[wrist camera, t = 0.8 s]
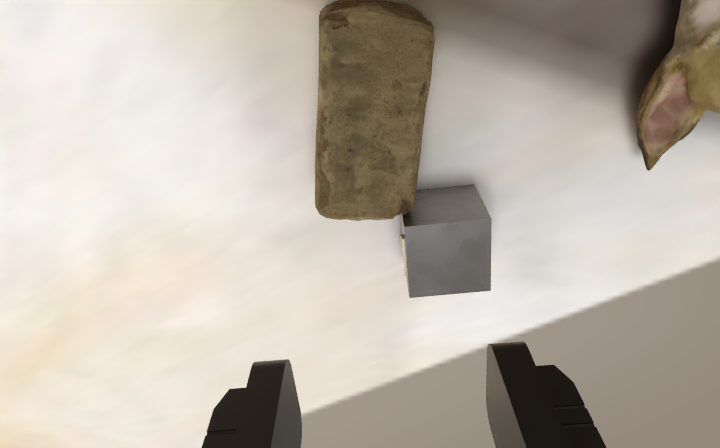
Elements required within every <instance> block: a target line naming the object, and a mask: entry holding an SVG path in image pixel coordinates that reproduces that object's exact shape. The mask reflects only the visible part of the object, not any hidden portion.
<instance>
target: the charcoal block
mask: <svg viewBox="0 0 720 448" xmlns="http://www.w3.org/2000/svg"><path fill="white" fill-rule="evenodd" d="M400 220H401V233H402V235H401V236H400V244H401V251H402V258H403V265H404V273H405V276H406V278H407V284H408V291H409V298H413V297H424V296H435V295H446V294H457V293H469V292H480V291H491V217H490V215H489V213H488V211H487V209H486V207H485V205H484V203H483V201H482V199H481V197H480V195H479V193H478V191H477V189H476V187H475V185H467V186H456V187H446V188H436V189H426V190H416V192H415V199H414V205H413V207H412V209H411V210H410V211H409V212H408V213H407V214H401V215H400Z"/></svg>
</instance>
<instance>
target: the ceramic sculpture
mask: <svg viewBox="0 0 720 448" xmlns="http://www.w3.org/2000/svg"><path fill="white" fill-rule="evenodd" d="M706 110H711V111H714V112H718V113H720V0H682V1H681V7H680V13H679V18H678V22H677V26H676V29H675V41H674V45H673V47H672V49H671V51H670V52H669V53H668V54H666V56H665V57H664V58H663V59H662V61H661V63H660V64H659V66H658V68H657V69H656V71H655V72H654V74H653V75H652V77H651V79H650V80H649V82H648V84H647V86H646V88H645V90H644V92H643V93H642V94H641V100H640V103H639V106H638V109H637V115H636V123H637V137H638V145H639V147H640V148H641V151H642V154H643V158H644V162H645V165H646V169H647V170H648V171H649V170H650V169H652V168H653V166H654V165H655V164H656V162H657V161H658V160H659V158H660V157H661V156H662V154H664V153H665V152H666V151H667V150H668V149H669V148H670V147H672V146H673V145H674V144H675V143H677V142H678V141H680V140H682V139H683V138H685V137H686V136H687V135H688V134H689V133H690V132H691V131H692V130H693V129H694V128H695V126H696V125H697V123H698V122H699V120H700V119H701V118H702V117H703V113H704V111H706Z"/></svg>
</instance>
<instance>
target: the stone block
mask: <svg viewBox="0 0 720 448" xmlns="http://www.w3.org/2000/svg"><path fill="white" fill-rule="evenodd" d="M434 41H435V40H434V27H433V25H432V24H431V22H429V21H427V20H426V18H424V17H423V16H422V15H421V14H420V13H419V12H418V11H416V10H415V9H413V8H411V7H410V6H408V5H406V4H393V3H390V2H385V1H379V0H339V1H335V2H333V3H331V4H329V5H326V6H325V7H324V8H323V10H322V11H321V12H320V15H319V88H318V113H317V131H316V161H315V204H316V208H317V210H318V212H319V214H321V215H322V216H324V217H326V218H331V219H339V220H341V219H349V220H356V221H360V220H367V219H372V220H382V219H393V218H394V217H395V216H396V215H401V214H407V213H408V212H409V211H410V210H411V209H412V207H413V205H414V199H415V192H416V185H417V176H418V168H419V160H420V150H421V141H422V131H423V124H424V115H425V106H426V102H427V97H428V91H429V86H430V79H431V70H432V58H433V49H434Z"/></svg>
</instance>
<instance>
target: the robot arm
mask: <svg viewBox="0 0 720 448" xmlns="http://www.w3.org/2000/svg"><path fill="white" fill-rule="evenodd" d="M486 378H487V379H486V380H487V381H486V402H487V403H486V404H487V412H488V419H489V424H490V428H491V432H492V434H493V439H494V442H495V446H496V448H606V446H605V444H604V442H603V440H602V438H601V436H600V434H599V432H598V430H597V428H596V427H594V424H593V420H592V418H591V416H590V414H589V412H588V410H587V409H586V408H585V406H584V402H583V400H582V398H581V396H580V394H579V392H578V390H577V388H576V386H575V384H574V383H573V382H572V381H571V380H570V379H569V378H568V377H567V376H566V375H565V374H563V373H562V372H561V371H560V370H559V369H558V368H557V367H556V366H554V365H545V366H536V365H535V363H534V361H533V359H532V356H531V354H530V351H529V349H528V347H527V345H526V343H525V342H511V343H498V344H488V347H487V376H486ZM301 438H302V422H301V411H300V406H299V401H298V396H297V392H296V387H295V382H294V377H293V372H292V367H291V364H290V361H289V360H288V359H287V360H275V361H262V362H254V363H253V365H252V368H251V371H250V375H249V379H248V383H247V387H246V388H237V389H229V391H228V392H227V393H226V394H225V396H224V397H223V398H222V399H221V401H220V402H219V403H218V404H217V406H216V407H215V408H214V410H213V414H212V417H211V420H210V423H209V426H208V430H207V436H205V439H204V442H203V445H202V448H301Z"/></svg>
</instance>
